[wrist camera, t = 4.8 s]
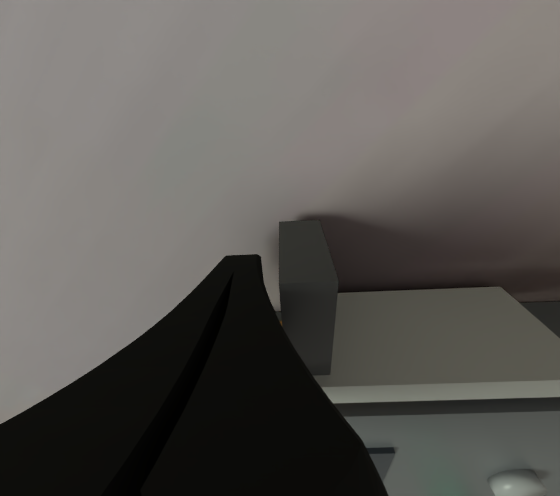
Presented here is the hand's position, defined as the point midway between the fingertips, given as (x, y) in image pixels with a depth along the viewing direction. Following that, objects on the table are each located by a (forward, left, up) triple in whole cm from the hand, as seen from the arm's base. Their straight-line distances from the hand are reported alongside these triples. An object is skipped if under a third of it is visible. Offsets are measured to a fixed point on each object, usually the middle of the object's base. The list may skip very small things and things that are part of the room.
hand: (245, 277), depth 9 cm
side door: (+6, -1, -1) cm, 7 cm away
